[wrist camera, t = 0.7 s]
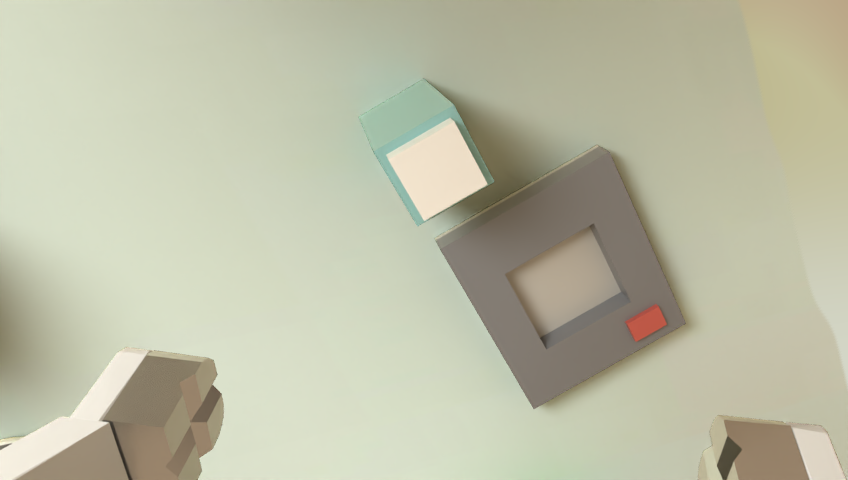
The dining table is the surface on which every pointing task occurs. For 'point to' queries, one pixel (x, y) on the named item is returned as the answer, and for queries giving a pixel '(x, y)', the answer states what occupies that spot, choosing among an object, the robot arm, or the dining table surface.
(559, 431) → the dining table surface
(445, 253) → the socket plate
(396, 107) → the plug
